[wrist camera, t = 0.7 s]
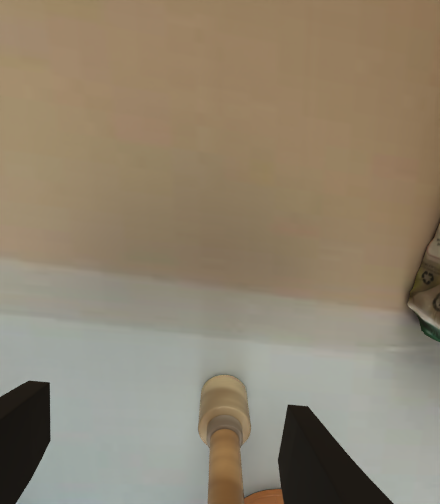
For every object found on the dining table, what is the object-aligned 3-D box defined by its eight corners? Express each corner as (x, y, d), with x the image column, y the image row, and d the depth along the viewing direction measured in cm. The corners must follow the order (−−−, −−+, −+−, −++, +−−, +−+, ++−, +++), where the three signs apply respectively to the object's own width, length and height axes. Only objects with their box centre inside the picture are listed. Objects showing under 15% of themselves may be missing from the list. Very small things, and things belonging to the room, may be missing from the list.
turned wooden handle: (231, 421, 22) (242, 621, 12) (192, 401, 21) (170, 592, 12) (255, 387, 21) (286, 568, 11) (215, 366, 21) (211, 536, 11)
